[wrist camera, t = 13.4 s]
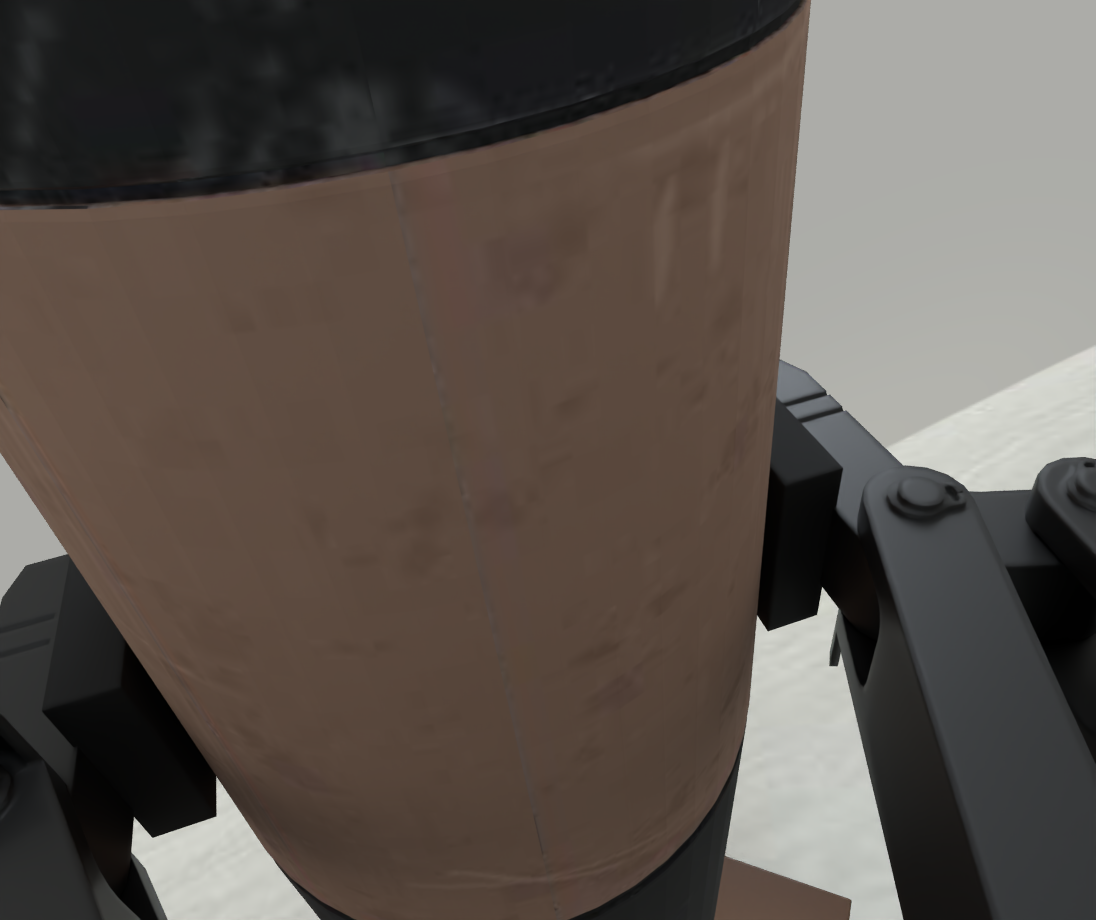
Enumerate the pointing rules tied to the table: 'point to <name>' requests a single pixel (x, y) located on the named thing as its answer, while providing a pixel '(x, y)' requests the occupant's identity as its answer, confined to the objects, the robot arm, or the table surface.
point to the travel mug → (417, 414)
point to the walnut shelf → (773, 897)
